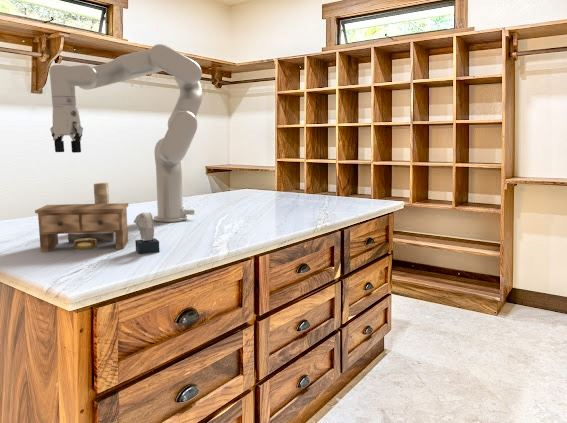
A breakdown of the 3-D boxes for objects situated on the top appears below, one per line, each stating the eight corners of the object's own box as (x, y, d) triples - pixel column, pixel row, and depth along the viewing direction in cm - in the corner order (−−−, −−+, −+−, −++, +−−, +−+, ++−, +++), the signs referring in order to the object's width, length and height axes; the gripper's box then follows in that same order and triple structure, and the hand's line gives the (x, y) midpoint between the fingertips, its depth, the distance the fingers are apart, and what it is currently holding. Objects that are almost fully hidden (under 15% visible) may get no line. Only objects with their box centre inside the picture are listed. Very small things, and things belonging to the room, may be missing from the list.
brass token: (98, 245, 141) (98, 237, 141) (94, 250, 136) (94, 241, 135) (77, 246, 140) (76, 238, 140) (72, 250, 134) (71, 242, 134)
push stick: (123, 227, 168) (121, 182, 166) (113, 241, 146) (110, 189, 144) (85, 228, 166) (82, 183, 163) (68, 242, 144) (65, 190, 141)
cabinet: (129, 241, 146) (128, 203, 145) (124, 249, 135) (122, 208, 133) (50, 243, 142) (47, 204, 140) (37, 253, 131) (34, 210, 129)
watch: (153, 247, 138) (152, 210, 137) (161, 253, 131) (159, 214, 130) (133, 249, 135) (132, 211, 134) (140, 255, 129) (138, 215, 127)
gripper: (89, 102, 163) (92, 152, 165) (59, 104, 172) (63, 151, 175) (69, 100, 156) (73, 153, 159) (39, 103, 166) (43, 152, 168)
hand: (68, 152), depth 167 cm, fingers open, 9 cm apart
